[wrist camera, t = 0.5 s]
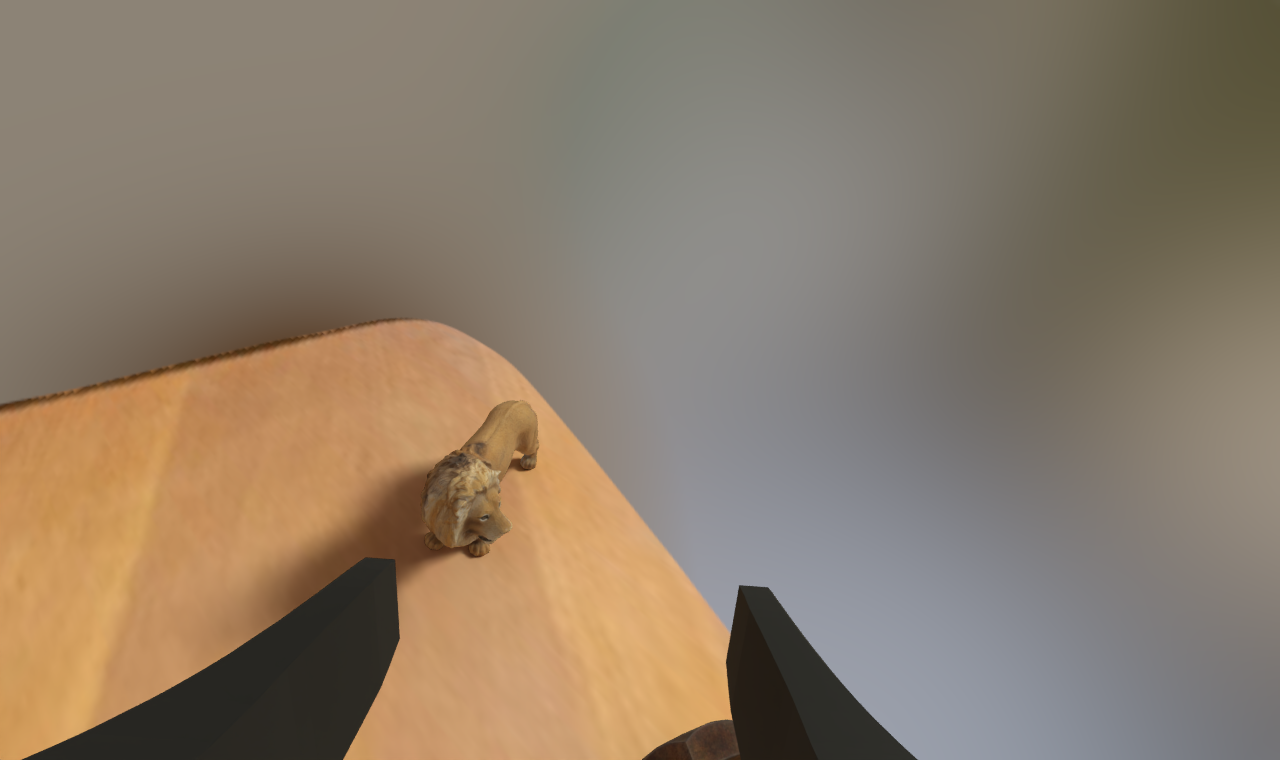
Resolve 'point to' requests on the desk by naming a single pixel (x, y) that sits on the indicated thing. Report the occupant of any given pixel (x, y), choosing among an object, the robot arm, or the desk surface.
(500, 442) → the lion figurine
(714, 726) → the bolt
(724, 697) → the desk surface
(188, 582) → the desk surface
